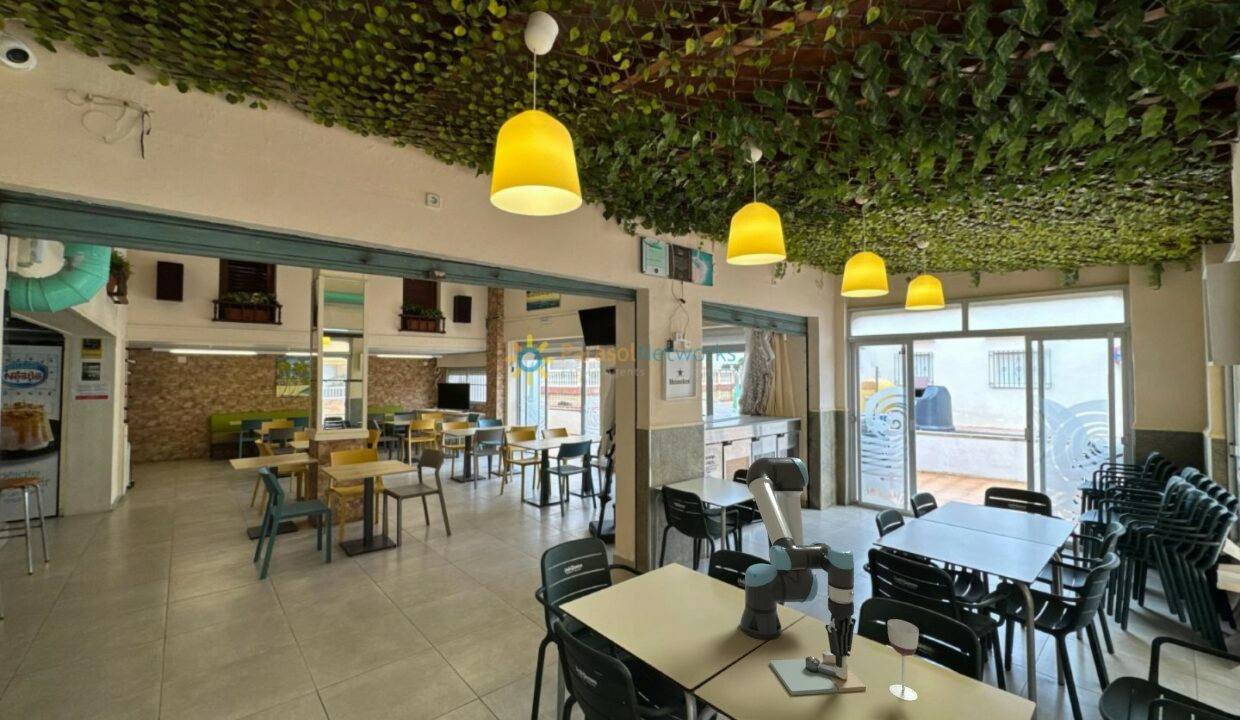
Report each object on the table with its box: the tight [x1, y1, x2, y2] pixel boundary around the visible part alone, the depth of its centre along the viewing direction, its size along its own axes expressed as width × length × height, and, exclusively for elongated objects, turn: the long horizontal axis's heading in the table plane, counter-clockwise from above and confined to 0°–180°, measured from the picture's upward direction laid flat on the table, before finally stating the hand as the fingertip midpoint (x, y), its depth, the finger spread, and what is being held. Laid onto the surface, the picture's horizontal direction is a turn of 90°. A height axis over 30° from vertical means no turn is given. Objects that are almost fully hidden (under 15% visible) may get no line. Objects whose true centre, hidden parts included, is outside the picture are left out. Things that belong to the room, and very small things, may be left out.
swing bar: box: [805, 656, 849, 681], centre depth 158 cm, size 13×4×4 cm, turn 58°
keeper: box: [822, 651, 836, 665], centre depth 163 cm, size 2×5×3 cm, turn 97°
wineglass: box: [887, 618, 920, 702], centre depth 151 cm, size 8×9×20 cm
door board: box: [769, 657, 867, 696], centre depth 158 cm, size 16×24×1 cm, turn 97°
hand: (841, 676), depth 153 cm, fingers closed
